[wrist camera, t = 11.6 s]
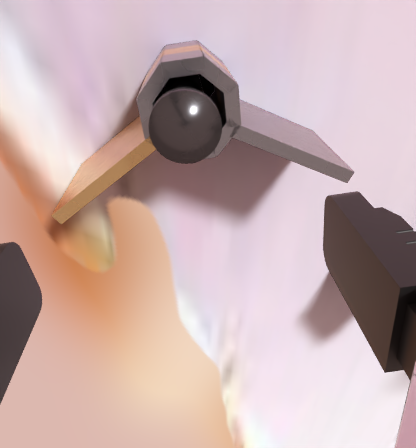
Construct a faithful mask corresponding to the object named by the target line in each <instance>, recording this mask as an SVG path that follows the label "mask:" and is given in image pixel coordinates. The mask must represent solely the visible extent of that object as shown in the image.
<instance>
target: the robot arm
mask: <svg viewBox="0 0 416 448" xmlns="http://www.w3.org/2000/svg"><path fill="white" fill-rule="evenodd" d="M323 251H324V257H325V262H326V265H327V267H328V270H329V271H330V273H331V275H332V277H333V279H334V281H335V282H336V284H337V286H338V288H339V290H340V292H341V293H342V295H343V297H344V299H345V301H346V303H347V304H348V306H349V308H350V310H351V312H352V313H353V315H354V317H355V319H356V321H357V323H358V324H359V326H360V328H361V330H362V332H363V334H364V335H365V337H366V339H367V341H368V343H369V345H370V346H371V348H372V350H373V352H374V354H375V356H376V357H377V359H378V361H379V363H380V365H381V367H382V368H383V370H384V372H385V373H386V372H392V371H399V370H404V371H405V372H406V374H407V376H408V377H409V379H410V385H409V389H408V393H407V397H406V402H405V406H404V410H403V414H402V419H401V423H400V427H399V431H398V436H397V440H396V444H395V448H416V231H415V232H414V231H413V228H412V227H411V226H410V225H409V224H408V223H407V222H406V221H405V220H404V219H403V218H402V217H401V216H399V215H397V214H395V213H392V212H390V211H388V210H386V209H384V208H382V207H381V208H373V206H372V205H371V204H370V203H369V202H368V201H367V200H366V199H365V198H364V197H363V196H362V194H361V193H359V192H350V193H343V194H336V195H330V196H327V197H326V200H325V210H324V237H323ZM41 306H42V294H41V290H40V287H39V285H38V283H37V281H36V278H35V277H34V274H33V272H32V270H31V268H30V266H29V264H28V262H27V260H26V258H25V256H24V254H23V252H22V250H21V248H20V246H19V245H18V244H16V243H14V242H9V243H3V244H0V403H1V401H2V399H3V397H4V394H5V392H6V390H7V387H8V385H9V383H10V380H11V378H12V375H13V373H14V371H15V369H16V366H17V364H18V362H19V359H20V357H21V355H22V352H23V350H24V348H25V345H26V343H27V341H28V338H29V336H30V334H31V331H32V329H33V327H34V325H35V322H36V320H37V318H38V315H39V313H40V310H41Z"/></svg>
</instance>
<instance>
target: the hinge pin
mask: <svg viewBox="0 0 416 448" xmlns="http://www.w3.org/2000/svg"><path fill="white" fill-rule="evenodd" d="M221 134H222V121H221V117H220V114H219V111H218V109H217V107H216V105H215V103H214V102H213V101H212V99H211V98H210V97H209V96H207V95H206V94H205V93H204V91H203V88H202V84H201V80H200V77H199V74H194V75H188V76H181V77H174V78H169V80H168V81H167V82H166V84H165V90H164V94H163V95H162V96H161V97H160V98H159V99H158V100H157V101H156V103H155V104H154V106H153V108H152V111H151V115H150V118H149V135H150V139H151V141H152V143H153V145H154V147H155V148H156V149H157V151H158V152H159V153H160V154H161V155H163V156H164V157H165V158H167V159H169V160H171V161H173V162H177V163H185V164H187V163H194V162H198V161H200V160H202V159H204V158H206V157H207V156H209V155H210V154H211V153H212V152H213V151H214V150H215V148H216V147H217V145H218V143H219V141H220V138H221Z"/></svg>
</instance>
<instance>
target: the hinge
mask: <svg viewBox="0 0 416 448" xmlns="http://www.w3.org/2000/svg"><path fill="white" fill-rule="evenodd" d="M194 74H201V75H202V76H203V77H205V78H206V79H207V80H208V81H210V82H211V83H212V84H213V85H214V92H213V93H212V95H211V96H210V98H211V99H212V101H213V102H214V103H215V105H216V107H217V109H218V111H219V114H220V117H221V121H222V134H221V138H220V141H219V143H218V145H217V147H216V148H215V150H214V151H213V152H212V153H211V154H210V155H209V156H207V157H206V158H204V159H207V158H214V157H216V156H218V155H219V154H220V152H221V151H222V150H223V149H224V147H225V146H226V145H227V144H228V142H229V141H230V140H231V139H232V138H234V139H237V140H240V141H242V142H245V143H247V144H250V145H252V146H255V147H257V148H260V149H262V150H265V151H267V152H270V153H272V154H275V155H277V156H280V157H282V158H285V159H288V160H290V161H293V162H295V163H298V164H300V165H303V166H305V167H308V168H310V169H313V170H315V171H318V172H320V173H323V174H325V175H328V176H330V177H333V178H335V179H338V180H341V181H343V182H346V183H348V181H349V180H350V178H351V177H352V175H353V174H354V171H353V170H352V169H351V168H350V167H349V166H348V165H347V164H346V163H345V162H344V161H343V160H342V159H341V158H340V157H339V156H338V155H337V154H336V153H335V152H334V151H333V150H332V149H331V148H330V147H329V146H328V145H327V144H326V143H325V142H324V141H323V140H322V139H321V138H320V137H319V136H318V135H317V134H316V133H315V132H314V131H312V130H310V129H308V128H305V127H303V126H301V125H298V124H296V123H294V122H291V121H289V120H287V119H284V118H282V117H280V116H277V115H275V114H273V113H270V112H268V111H265V110H263V109H261V108H258V107H256V106H254V105H251V104H249V103H247V102H244V101H242V100H240V99H239V88H238V84H237V82H236V81H235V79H234V78H233V76H232V75H231V74H230V72H229V71H228V69H227V68H226V66H225V65H224V63H223V62H222V61H221V60H220V59H219V58H218V57H216V56H215V55H214V54H213V53H212V52H210V51H209V50H208V49H207V48H206V47H205V46H203V45H202V44H201V43H200V42H199V41H197V40H196V41H189V42H183V43H176V44H169V45H166V46H164V48H163V49H162V51H161V52H160V54H159V55H158V57H157V58H156V60H155V62H154V63H153V65H152V66H151V68H150V69H149V71H148V72H147V75H146V77H145V80H144V82H143V84H142V87H141V89H140V91H139V94H138V96H137V100H136V101H137V106H138V110H139V115H140V116H139V117H137V118H136V119H135V120H134V121H133V122H131V123H130V124H129V125H128V126H127V127H125V128H124V129H123V130H122V131H121V132H119V133H118V134H117V135H116V136H115V137H113V138H112V139H111V140H110V141H109V142H107V143H106V144H105V145H104V146H103V147H101V148H100V149H99V150H98V151H97V152H95V153H94V154H93V155H92V156H91V157H90V158H88V159H87V160H86V161H85V162H84V163H82V164H81V166H80V168H79V169H78V171H77V173H76V174H75V176H74V178H73V180H72V181H71V183H70V185H69V186H68V188H67V190H66V191H65V193H64V195H63V197H62V198H61V200H60V202H59V203H58V205H57V207H56V208H55V210H54V212H53V214H52V215H51V216H52V217H53V218H54V219H56V220H57V221H58V222H59V223H60V224H63V223H64V222H65V221H66V220H68V219H69V218H70V217H71V216H73V215H74V214H75V213H76V212H78V211H79V210H80V209H81V208H83V207H84V206H85V205H87V204H88V203H89V202H90V201H92V200H93V199H94V198H95V197H97V196H98V195H99V194H100V193H102V192H103V191H104V190H106V189H107V188H108V187H109V186H111V185H112V184H113V183H114V182H116V181H117V180H118V179H119V178H121V177H122V176H123V175H124V174H126V173H127V172H128V171H130V170H131V169H132V168H133V167H135V166H136V165H137V164H138V163H140V162H141V161H142V160H143V159H145V158H146V157H147V156H149V155H150V154H151V153H152V152H154V151H155V150H156V148H155V147H154V145H153V143H152V141H151V139H150V135H149V118H150V115H151V111H152V108H153V106H154V104H155V103H156V101H157V100H158V99H159V98H160V97H161V96H162V95H163V93H162V88H163V87H164V85H165V84H166V82H167V81H168V80H169V78H174V77H181V76H188V75H194Z"/></svg>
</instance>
